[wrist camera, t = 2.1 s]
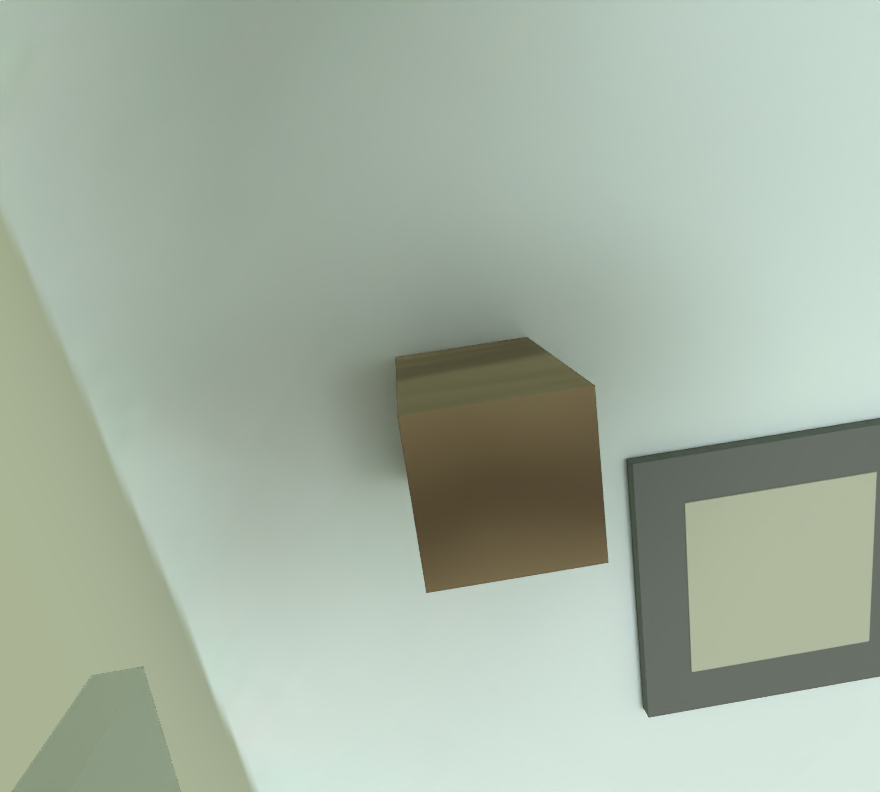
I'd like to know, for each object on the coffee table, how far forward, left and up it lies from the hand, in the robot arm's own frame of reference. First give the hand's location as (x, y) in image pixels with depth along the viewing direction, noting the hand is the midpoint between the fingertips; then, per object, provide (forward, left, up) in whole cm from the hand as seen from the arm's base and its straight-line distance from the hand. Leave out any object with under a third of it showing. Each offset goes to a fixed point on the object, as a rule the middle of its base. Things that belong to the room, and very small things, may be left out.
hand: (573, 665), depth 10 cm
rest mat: (+9, +12, -14) cm, 21 cm away
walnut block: (0, 0, -14) cm, 14 cm away
